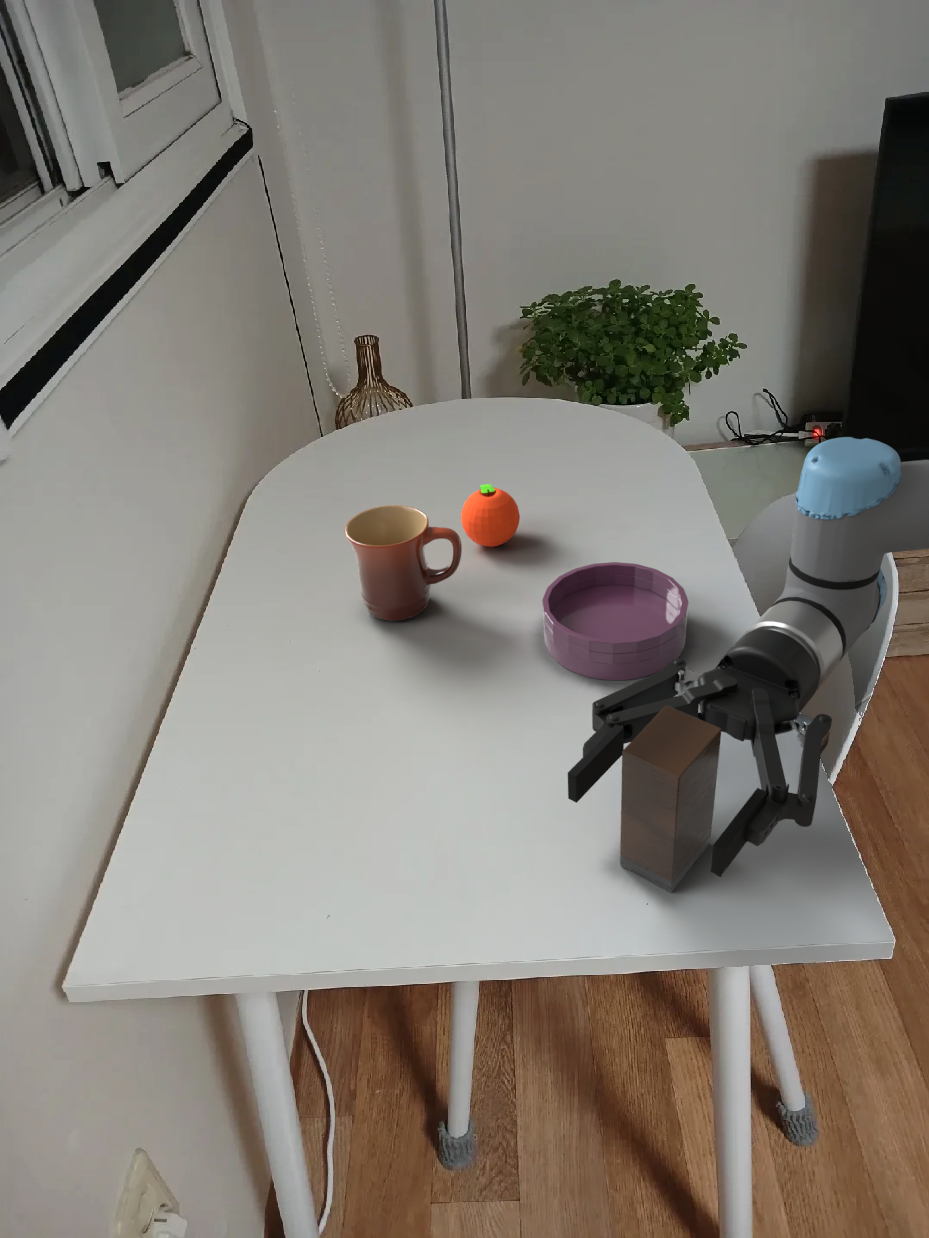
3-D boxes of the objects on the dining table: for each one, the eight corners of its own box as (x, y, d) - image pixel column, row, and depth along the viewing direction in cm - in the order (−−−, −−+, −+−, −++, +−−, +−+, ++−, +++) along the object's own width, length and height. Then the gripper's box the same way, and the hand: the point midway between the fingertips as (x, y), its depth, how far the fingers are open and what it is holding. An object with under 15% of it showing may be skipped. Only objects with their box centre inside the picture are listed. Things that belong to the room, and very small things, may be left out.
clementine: (457, 529, 118) (452, 477, 114) (511, 520, 118) (508, 468, 114) (469, 561, 111) (464, 508, 107) (527, 552, 112) (524, 498, 108)
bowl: (715, 638, 96) (718, 601, 93) (612, 700, 89) (613, 662, 86) (615, 582, 105) (615, 547, 103) (516, 634, 99) (513, 599, 96)
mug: (351, 629, 102) (336, 547, 96) (366, 584, 109) (354, 505, 103) (462, 629, 100) (454, 545, 94) (470, 584, 107) (463, 503, 101)
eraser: (710, 843, 74) (722, 728, 67) (671, 893, 71) (679, 777, 64) (659, 818, 77) (666, 704, 70) (619, 865, 73) (621, 750, 66)
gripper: (912, 752, 76) (793, 940, 63) (654, 652, 89) (512, 790, 76) (931, 679, 72) (808, 864, 59) (657, 585, 85) (507, 719, 72)
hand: (640, 822), depth 67 cm, fingers open, 11 cm apart
